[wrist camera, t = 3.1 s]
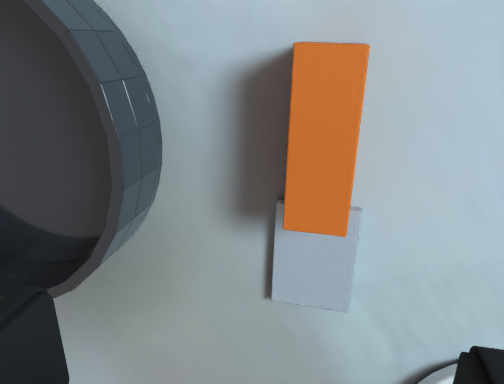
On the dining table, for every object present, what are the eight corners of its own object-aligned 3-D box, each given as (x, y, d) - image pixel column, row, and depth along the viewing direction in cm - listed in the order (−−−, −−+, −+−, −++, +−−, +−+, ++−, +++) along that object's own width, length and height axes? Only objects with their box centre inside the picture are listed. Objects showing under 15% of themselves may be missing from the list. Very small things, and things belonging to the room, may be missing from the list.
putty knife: (383, 44, 21) (392, 45, 17) (348, 307, 26) (349, 353, 22) (285, 41, 22) (272, 41, 18) (272, 295, 27) (260, 337, 23)
